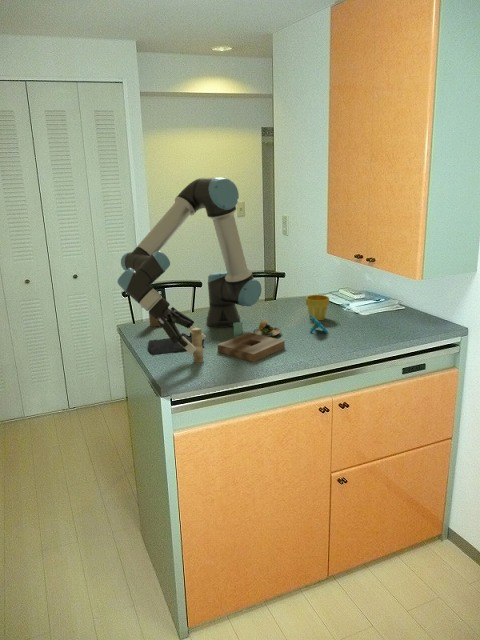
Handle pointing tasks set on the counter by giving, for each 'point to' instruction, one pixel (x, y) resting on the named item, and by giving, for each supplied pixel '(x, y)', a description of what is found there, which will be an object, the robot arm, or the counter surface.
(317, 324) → the gear
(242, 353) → the walnut hole board
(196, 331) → the long maple pin
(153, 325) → the wooden block
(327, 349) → the counter surface
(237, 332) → the short teal pin
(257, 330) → the burger
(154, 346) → the dark slate chunk
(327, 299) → the plant pot
